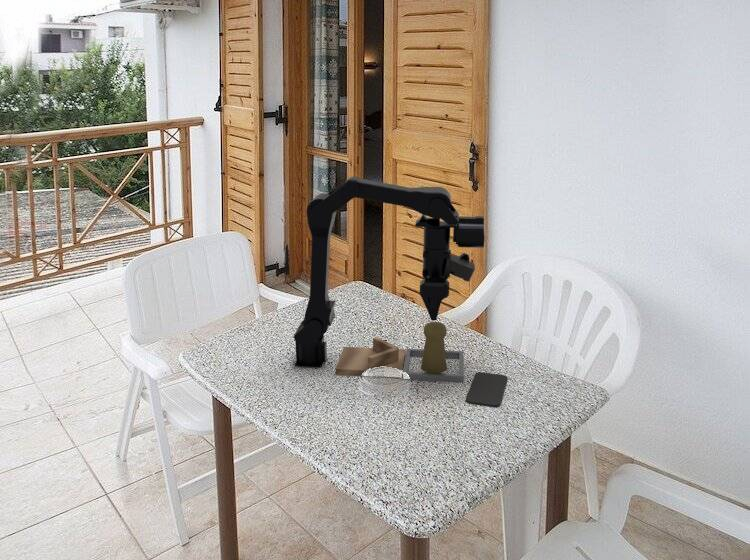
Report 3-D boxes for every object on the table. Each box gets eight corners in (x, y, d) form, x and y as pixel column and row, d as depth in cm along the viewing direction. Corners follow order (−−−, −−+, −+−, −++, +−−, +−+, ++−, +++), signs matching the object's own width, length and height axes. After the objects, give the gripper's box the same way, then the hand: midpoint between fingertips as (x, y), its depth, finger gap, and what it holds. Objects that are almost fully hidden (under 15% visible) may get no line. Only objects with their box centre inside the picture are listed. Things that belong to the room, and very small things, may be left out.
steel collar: (402, 379, 161) (402, 373, 160) (406, 354, 174) (406, 348, 173) (463, 382, 159) (464, 376, 159) (463, 356, 172) (463, 351, 172)
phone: (508, 375, 162) (500, 405, 148) (508, 378, 162) (499, 409, 149) (475, 371, 164) (464, 400, 150) (475, 374, 164) (464, 404, 151)
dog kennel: (335, 374, 163) (335, 356, 161) (343, 352, 175) (343, 335, 173) (401, 378, 161) (402, 359, 160) (405, 355, 173) (405, 338, 172)
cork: (445, 374, 163) (447, 329, 160) (419, 372, 164) (420, 327, 161) (448, 363, 169) (450, 319, 165) (422, 361, 170) (423, 317, 166)
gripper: (474, 259, 148) (471, 330, 153) (472, 236, 165) (469, 300, 170) (420, 257, 149) (418, 327, 154) (424, 234, 166) (422, 298, 171)
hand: (434, 312), depth 162 cm, fingers open, 9 cm apart
